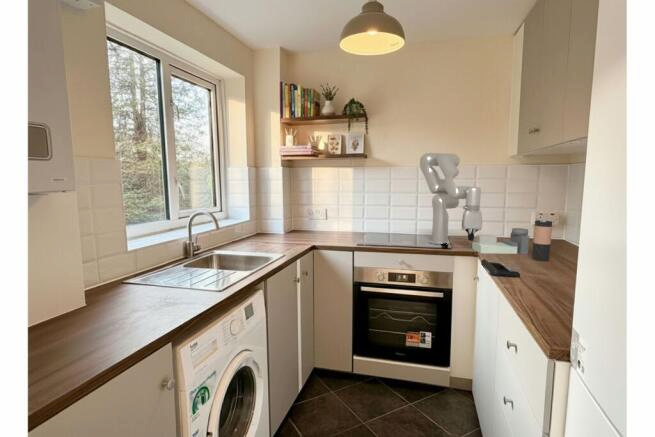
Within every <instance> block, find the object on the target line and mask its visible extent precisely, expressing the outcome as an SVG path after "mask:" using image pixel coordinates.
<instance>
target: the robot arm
mask: <svg viewBox="0 0 655 437" xmlns="http://www.w3.org/2000/svg"><path fill="white" fill-rule="evenodd" d="M460 161H461V160H460V157H459V155H458V154H456V153H442V152H441V153H439V152H428V153H424V154H422V155H421V156H420V160H419V167H420V170H421V172H422V175H423V177H424V178H425V182H426V184H427V186H428V189H429V192H430V193H431V194H433V195H434V196H433V197H432V199H431V205H432V206H431V207H432V232H431V233H432V234H431V239H429V242H428V243H430V244H433V245H440V244H443V243H447V244H446V245H450V244H451V241H450V240H448V237H449V218H450V217H449V211H448V210H447V209H450V210H451V209H456V208H457V207H459V204H460V200H465V205H464V206H463V207H462V209H463V210H464V211H463V213H462V214H463V215H462V219H461V231H465V232H466V233H467V240H468V241H470V242H474V239H475V234H476V233H477V232H479V231H482V228H483V214H482V211H481V194H482V193H481V192H482V189H481V187H479V186H469V185H456V183H455V181H454V179H455V178H457V177H458V176H459V174H460V171H459V168H458V166H459V165H460ZM434 167H439V169H440V171H441V172H442V174H443V175H444V177H445V178H444V179H442V178H440V177H441V176H439V172H438V171H437V170H436V169H435V168H434Z"/></svg>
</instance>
